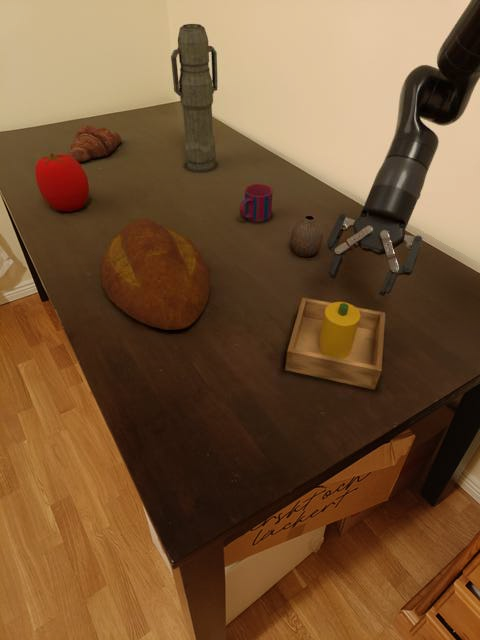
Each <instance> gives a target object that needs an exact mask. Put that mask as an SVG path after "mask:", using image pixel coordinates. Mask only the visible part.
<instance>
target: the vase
mask: <svg viewBox="0 0 480 640" xmlns="http://www.w3.org/2000/svg"><path fill="white" fill-rule="evenodd" d="M323 241H324V233H323V228H322V226H321V225H320V223H319V222H318V221H317V219H316V216H315V215H313V214H305V215H303V217H302V218H301V220H300V221H298V222H297V223H296V224H295V225H294V226H293V229H292V231H291V236H290V244H291V248H292V250H293V251H294V253H296V254H297V255H298V256H300V257H302V258H303V257H304V258H309V257H312V256H314V255H315V254H317V253H319V251H320V249H321V247H322V245H323Z"/></svg>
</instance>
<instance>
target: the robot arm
mask: <svg viewBox="0 0 480 640" xmlns="http://www.w3.org/2000/svg"><path fill="white" fill-rule="evenodd" d="M436 65H437V67H435V66H432V65H429V64H421V65H418V66H417V67H415V68H413V69H412V70H411V71H410V72H409V73H408V75H407V76H406V78H405V79H404V81H403V84H402V86H401V89H400V93H399V99H398V100H399V101H398V108H397V109H398V110H397V118H396V125H395V130H394V135H393V137H392V140H391V142H390V146H389V148H388V150H387V153H386V155H385V157H384V160H383V162H382V164H381V166H380V168H379V169H378V171H377V173H376V176H375V178H374V180H373V183H372V185H371V188H370V189H369V193H368V195H367V198H366V200H365V202H364V205H363V208H362V210H361V213H360V214H359V216H358V217H357V218H356V219H353V218H350V217H347V215H346V214H344V213H341V214H339V215H338V217H337V219H336V221H335V223H334V226H333V228H332V230H331V232H330V234H329V237H328V239H327V240H326V243H325V244H326V247H327V249H328V250H329V251H330V252H332V253H333V255H332V257H331V260H330V263H329V264H328V267H327V273H328V274H329V278H330V279H333V280H336V278H337V275H338V273H339V271H340V268H341V265H342V264H343V261H344V258H343V257H345V256H346V255H348V254H350V253H351V252H353V251H355V250H357V249H358V248H360V249H361V251H364V252H371V253H373V254H375V255H377V256H383V255H385V256H386V260H387V262H388V266H389V271H387V273H386V275H385V278H384V280H383V283H382V285H381V287H380V290H379V292H378V294H379V296H382V297H385V295H388V294H390V293H391V291H392V289H393V287H394V285H395V283H396V280H397V278H398V277H399V276H404V275H406V276H410V275H412V273H413V271H414V268H415V265H416V262H417V259H418V256H419V253H420V251H421V247H422V244H423V237H422V236H421V235H415V236H414V235H413V236H412V235H408V234H406V229H407V227H408V224H409V222H410V220H411V218H412V215H413V212H414V210H415V207H416V205H417V202H418V200H419V199H420V198H421V193H422V190H423V188H424V185H425V182H426V177H427V174H428V173H429V169H430V167H431V164H432V163H433V160H434V157H435V155H436V152H437V150H438V147H439V142H440V141H439V136H438V134H436V132H434V130H432V129H431V128H430V127H429V126H427V125H426V124H425V123H424V122H423V120H425V121H427V122H429V123H432V124H435V125H437V126H442V127H446V126H449V125H452V124H454V123H456V122H457V121H458V120H459V119H461V117H462V116H463V115H464V113H465V111H466V109H467V108H468V104H469V102H470V100H471V97H472V95H473V92H474V90H475V88H476V86H477V84H478V82H479V80H480V0H470V1H469V3H468V5H467V6H466V8H465V9H464V10H463V12H462V13H461V15H460V17H459V18H458V20H457V21H456V23H455V24H454V26H453V27H452V28H451V31H450V32H449V34H448V35H447V37H446V38H445V39H444V41H443V43H442V45H441V46H440V48H439V50H438V51H437V55H436ZM421 119H422V120H421ZM350 228H353V231H354V235H352V236H350V237H349V238H347V239H346V240H345V241H344V242H343V243H341V244H339V243H340V240H341V238H342V235H343V234H344V232H347V231H349V229H350ZM403 243H405V244H406V249H407V250H408V251H409V252H408V254H407V257H406V260H405V264H404V265H399V263H398V260H397V257H396V254H395V250H394V249H395V248H397V247H399V246H400V245H401V244H403ZM338 244H339V245H338Z"/></svg>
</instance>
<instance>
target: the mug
mask: <svg viewBox="0 0 480 640" xmlns="http://www.w3.org/2000/svg"><path fill="white" fill-rule="evenodd" d="M272 207H273V188H272V187H271V186H270V185H268V184H264V183H254V184H250V185H246V187H245V188H244V199H243V200H242V202H241V203H240V206H239V215H240V217H242V218H243V219H245V220H248V221H249V222H253V223H264V222H266V221H268V220H270V219H271V218H272V209H273V208H272Z"/></svg>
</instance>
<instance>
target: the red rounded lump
mask: <svg viewBox="0 0 480 640" xmlns="http://www.w3.org/2000/svg"><path fill="white" fill-rule="evenodd" d="M68 154H69V153H68ZM68 154H67V153H63V152H61V153H53V152H52V153H50V154H49V155H45V156H42V157H40V158H39V160H38V161H37V162H36V164H35V167H34V169H35V171H34V174H35V181H36V184H37V187H38V190H39V192H40V194H41V196H42V198H43V199H44V201H45V202H47V204H48V205H49V206H50V207H51V208H53V209H55V210H57V211H60V212H67V213H69V212H75V211H78V210H80V209H82V208H83V207H84V206H85V205H86V203H87V201H88V198H89V193H90V192H89V191H90V185H89V184H90V183H89V179H88V176H87V173H86V172H85V170H84V168H83V167H82V165H81V164H80V162H78V161H77V160H76V159H75V158H73V157H71V156H70V155H68Z"/></svg>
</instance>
